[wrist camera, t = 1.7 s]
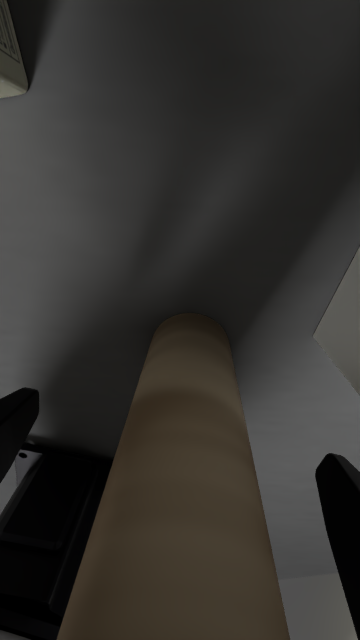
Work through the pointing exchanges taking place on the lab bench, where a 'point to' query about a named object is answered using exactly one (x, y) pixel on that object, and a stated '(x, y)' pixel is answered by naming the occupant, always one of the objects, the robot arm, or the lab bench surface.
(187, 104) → the lab bench surface
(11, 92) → the skincare box
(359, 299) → the socket block
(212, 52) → the lab bench surface
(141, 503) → the wooden peg
